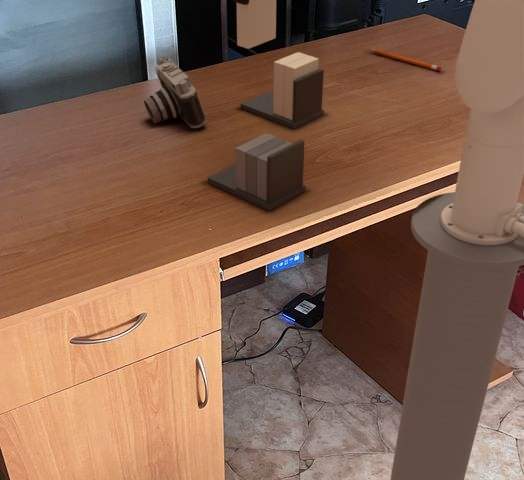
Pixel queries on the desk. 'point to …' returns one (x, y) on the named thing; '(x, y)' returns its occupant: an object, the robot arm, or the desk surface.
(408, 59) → the pencil
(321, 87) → the dark bookend stand
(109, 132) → the desk surface
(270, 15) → the white book
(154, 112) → the camera
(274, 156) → the grey rack
